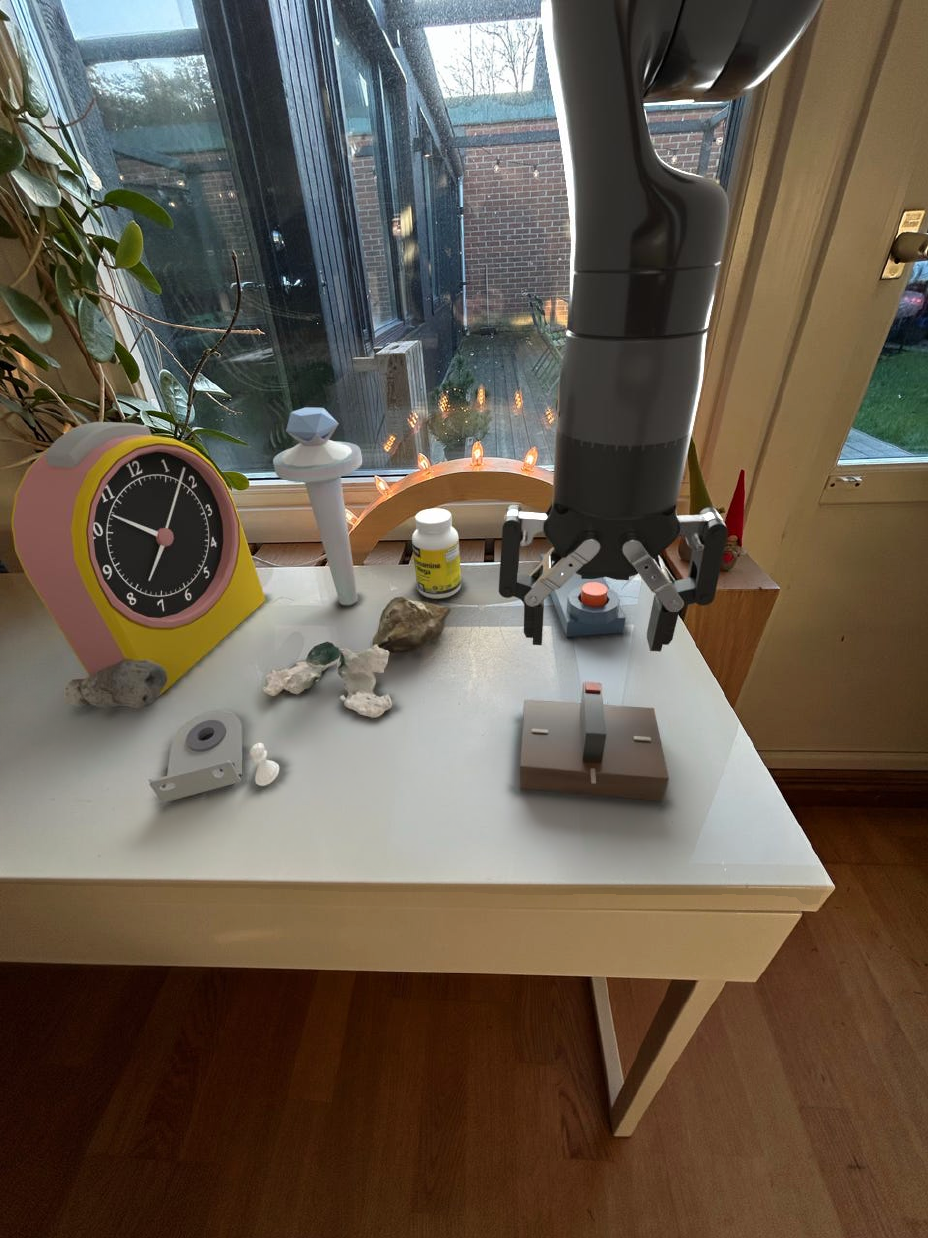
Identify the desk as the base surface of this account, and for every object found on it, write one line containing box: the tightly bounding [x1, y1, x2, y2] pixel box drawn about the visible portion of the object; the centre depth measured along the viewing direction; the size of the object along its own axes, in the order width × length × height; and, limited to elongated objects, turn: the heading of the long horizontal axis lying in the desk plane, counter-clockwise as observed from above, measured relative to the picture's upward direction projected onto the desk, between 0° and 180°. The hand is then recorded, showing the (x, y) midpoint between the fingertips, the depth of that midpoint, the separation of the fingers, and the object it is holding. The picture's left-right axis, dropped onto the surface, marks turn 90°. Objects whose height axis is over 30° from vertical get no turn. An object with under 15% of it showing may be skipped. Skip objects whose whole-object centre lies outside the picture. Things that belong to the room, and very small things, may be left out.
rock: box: [262, 641, 393, 719], centre depth 56 cm, size 15×8×8 cm
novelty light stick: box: [272, 406, 363, 606], centre depth 64 cm, size 10×10×25 cm
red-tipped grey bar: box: [580, 681, 606, 763], centre depth 45 cm, size 6×2×4 cm, turn 172°
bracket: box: [148, 710, 243, 803], centre depth 49 cm, size 7×10×4 cm, turn 18°
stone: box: [63, 659, 167, 709], centre depth 55 cm, size 10×5×8 cm
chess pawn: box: [249, 742, 280, 787], centre depth 46 cm, size 3×2×4 cm
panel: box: [518, 699, 670, 802], centre depth 46 cm, size 10×12×3 cm
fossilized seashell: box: [371, 596, 452, 654], centre depth 62 cm, size 8×7×10 cm
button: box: [581, 582, 608, 607], centre depth 61 cm, size 3×3×2 cm
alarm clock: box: [10, 421, 266, 698], centre depth 58 cm, size 21×9×26 cm, turn 162°
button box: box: [539, 553, 627, 638], centre depth 68 cm, size 18×7×4 cm, turn 4°
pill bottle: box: [411, 507, 462, 600], centre depth 69 cm, size 6×6×11 cm
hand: (594, 641), depth 39 cm, fingers open, 8 cm apart
